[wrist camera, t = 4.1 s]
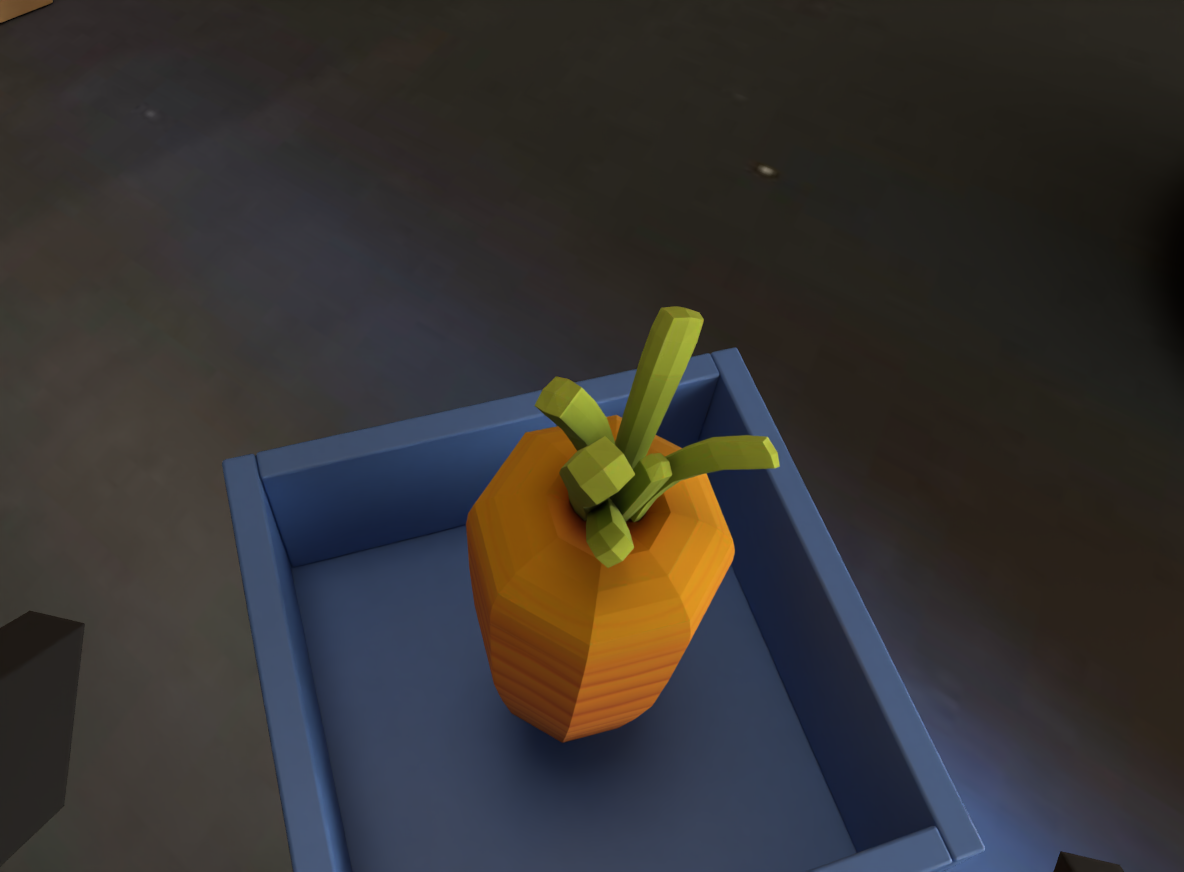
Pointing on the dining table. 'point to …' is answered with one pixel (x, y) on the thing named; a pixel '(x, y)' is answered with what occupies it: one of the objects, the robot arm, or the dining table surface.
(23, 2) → the board
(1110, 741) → the dining table surface
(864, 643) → the bin
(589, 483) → the carrot
